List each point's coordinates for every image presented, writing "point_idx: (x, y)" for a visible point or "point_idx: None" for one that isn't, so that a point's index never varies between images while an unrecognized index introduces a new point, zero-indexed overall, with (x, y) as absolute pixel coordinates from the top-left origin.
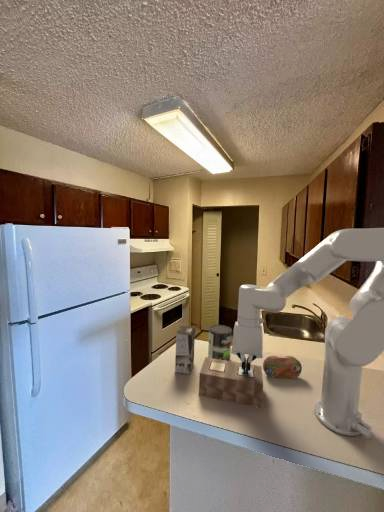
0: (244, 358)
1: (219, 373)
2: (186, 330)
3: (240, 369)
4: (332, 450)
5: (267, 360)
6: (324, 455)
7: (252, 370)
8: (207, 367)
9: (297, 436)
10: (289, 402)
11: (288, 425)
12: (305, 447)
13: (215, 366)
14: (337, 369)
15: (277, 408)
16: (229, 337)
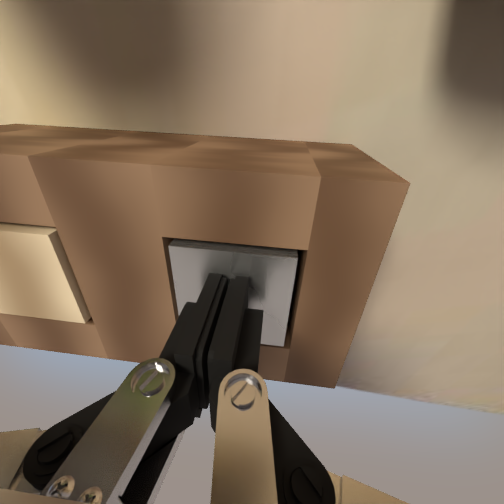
0: (174, 431)
1: (70, 333)
2: None
3: (188, 281)
4: (479, 393)
5: None
6: (442, 401)
7: (288, 280)
8: None
9: (399, 369)
10: (473, 242)
11: (391, 343)
12: (403, 389)
13: (4, 279)
14: None
15: (387, 284)
16: None
